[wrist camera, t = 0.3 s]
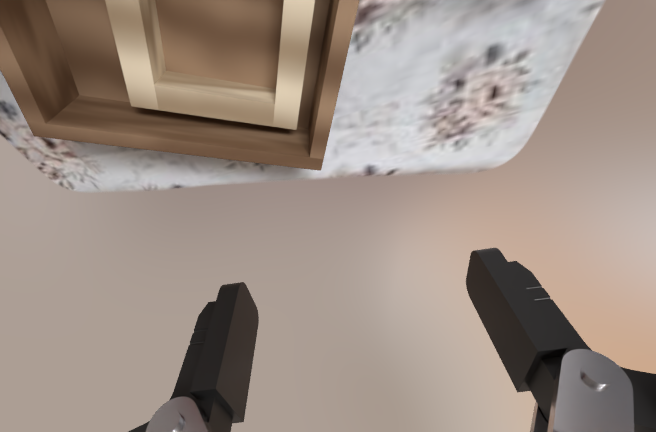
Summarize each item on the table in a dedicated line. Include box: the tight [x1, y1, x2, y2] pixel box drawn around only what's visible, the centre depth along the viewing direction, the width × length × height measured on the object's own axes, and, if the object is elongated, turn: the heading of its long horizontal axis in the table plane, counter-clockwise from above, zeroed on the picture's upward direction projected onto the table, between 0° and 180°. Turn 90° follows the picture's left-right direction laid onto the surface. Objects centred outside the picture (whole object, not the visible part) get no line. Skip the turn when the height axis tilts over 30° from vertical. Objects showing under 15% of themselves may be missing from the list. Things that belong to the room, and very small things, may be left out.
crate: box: [0, 0, 359, 170], centre depth 21 cm, size 18×22×6 cm
